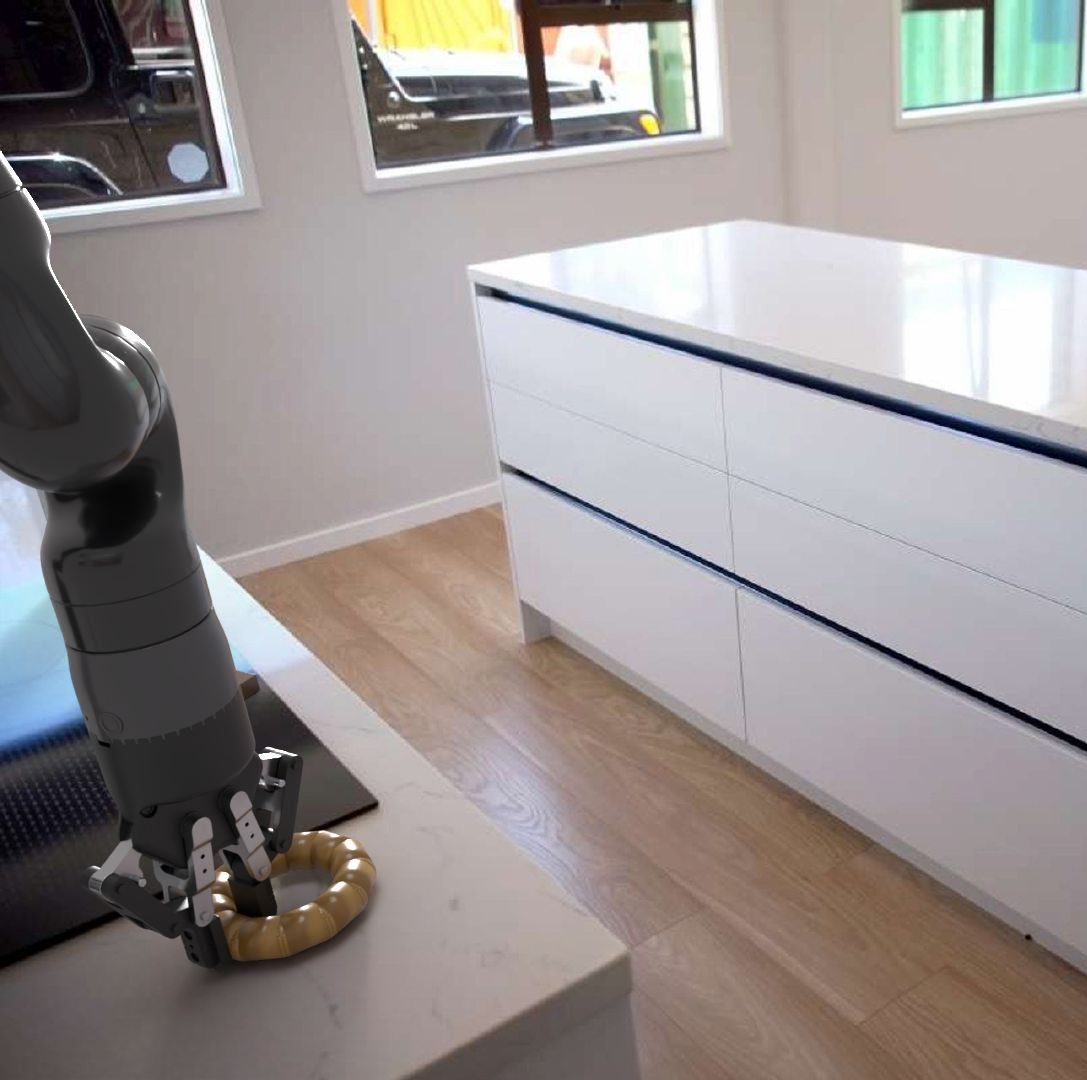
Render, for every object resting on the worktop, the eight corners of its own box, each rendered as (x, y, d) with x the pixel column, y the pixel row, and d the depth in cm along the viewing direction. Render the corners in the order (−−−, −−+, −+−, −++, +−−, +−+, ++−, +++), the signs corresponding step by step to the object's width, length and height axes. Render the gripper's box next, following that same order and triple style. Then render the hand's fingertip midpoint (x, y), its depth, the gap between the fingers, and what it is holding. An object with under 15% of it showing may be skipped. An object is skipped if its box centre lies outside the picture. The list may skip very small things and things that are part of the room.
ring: (287, 989, 70) (277, 956, 69) (159, 940, 74) (149, 909, 73) (412, 877, 78) (405, 846, 77) (291, 839, 82) (284, 809, 81)
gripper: (218, 626, 73) (282, 860, 80) (-9, 750, 61) (89, 1011, 68) (313, 647, 70) (370, 889, 77) (92, 782, 58) (183, 1052, 66)
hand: (237, 945), depth 73 cm, fingers closed on ring, 2 cm apart
